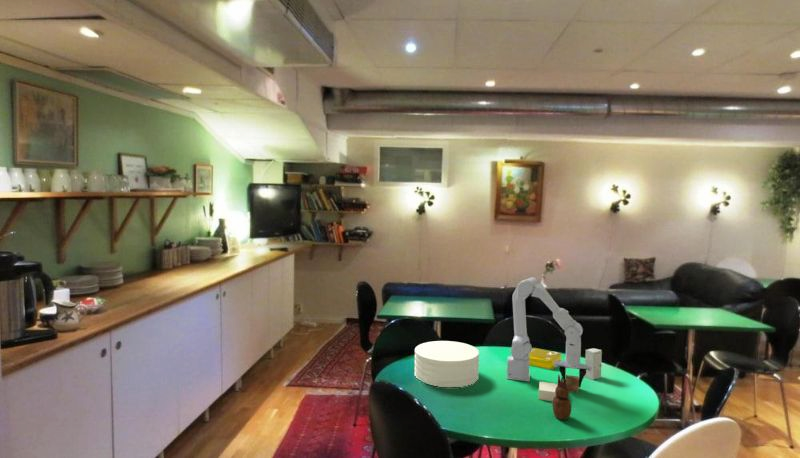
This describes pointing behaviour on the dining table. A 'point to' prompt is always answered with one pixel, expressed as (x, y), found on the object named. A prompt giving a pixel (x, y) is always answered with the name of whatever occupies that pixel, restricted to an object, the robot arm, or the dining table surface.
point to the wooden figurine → (561, 401)
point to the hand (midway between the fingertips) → (571, 385)
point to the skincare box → (593, 363)
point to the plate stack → (446, 363)
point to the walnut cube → (572, 383)
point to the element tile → (543, 358)
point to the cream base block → (547, 391)
